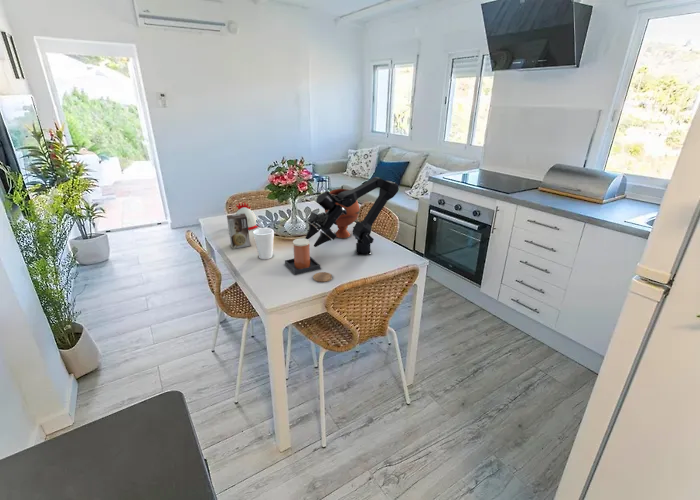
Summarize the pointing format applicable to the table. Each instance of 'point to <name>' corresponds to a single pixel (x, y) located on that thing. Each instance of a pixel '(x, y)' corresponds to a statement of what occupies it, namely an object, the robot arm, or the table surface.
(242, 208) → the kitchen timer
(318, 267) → the tray
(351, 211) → the terracotta vase
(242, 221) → the coffee box
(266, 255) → the foam cup
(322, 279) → the coaster
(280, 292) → the table surface
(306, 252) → the canister
